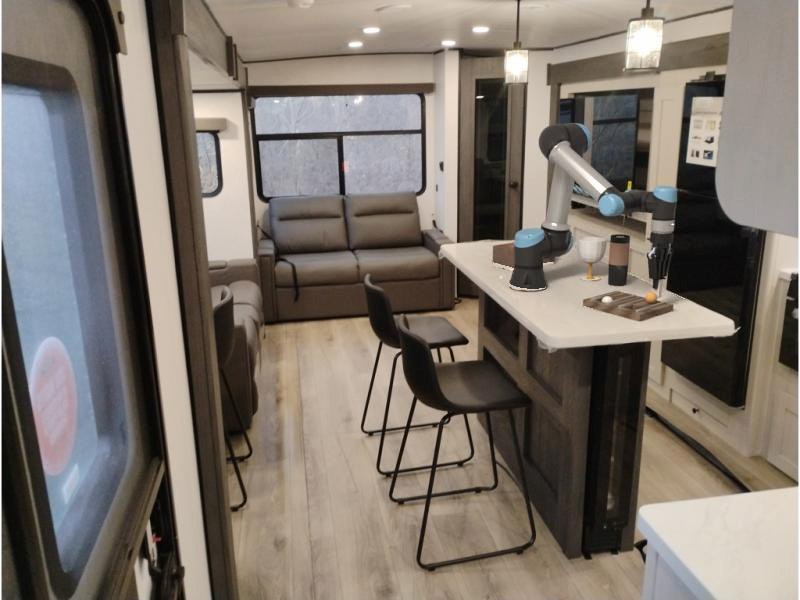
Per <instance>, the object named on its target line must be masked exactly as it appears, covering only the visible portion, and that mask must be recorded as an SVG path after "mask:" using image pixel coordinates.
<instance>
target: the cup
mask: <svg viewBox="0 0 800 600" xmlns="http://www.w3.org/2000/svg"><path fill="white" fill-rule="evenodd" d="M607 243H608V240H607V238H605V237H600V236H582V237H579V238H577V252H578V253H577V254H578V256H579V258H580V259H581V261H582V262H584V263H585V264H586V263H587V264H588V267H589V271H588V275H587V276H588V277H586V278H587V279H595V278H594V277H592V276H593V275H592V273H593V271H592V269H593V264H597V263H599V262H601V260H603V258H604V257H605V253H606V249H607ZM598 277H599V278H600V279H601V280H602V278H601V277H600V276H598ZM600 279H598V280H599V281H601V280H600Z"/></svg>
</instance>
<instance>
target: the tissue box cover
mask: <svg viewBox="0 0 800 600" xmlns="http://www.w3.org/2000/svg"><path fill="white" fill-rule="evenodd" d="M555 260H556V257H554V258H548V259H543V263H547V262H554V261H555ZM493 262H494V263H498V264H501V265H505V266H509V267H512V268H514V241H513V242H507V243H501V244H495V245H493V246H492V263H493ZM555 262H556V261H555Z"/></svg>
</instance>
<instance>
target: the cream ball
mask: <svg viewBox="0 0 800 600" xmlns="http://www.w3.org/2000/svg"><path fill="white" fill-rule="evenodd" d="M611 301H613V299H612V298H611V297H609V296H605V297H604V298H603V299H602V302H604V303H607V302H611Z"/></svg>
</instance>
